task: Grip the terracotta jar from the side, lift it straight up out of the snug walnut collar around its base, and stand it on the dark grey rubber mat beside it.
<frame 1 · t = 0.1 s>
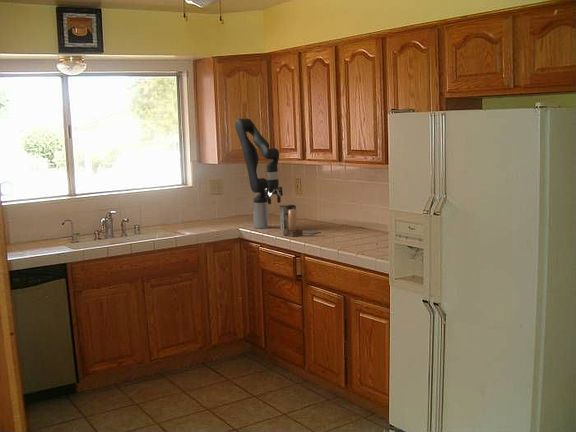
hand: (274, 203, 446), 17 cm above the countertop, tool pointing down, fingers open, 8 cm apart
mat: (310, 232, 429), on the countertop
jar: (292, 222, 421), in the collar
collar: (293, 235, 423), on the countertop
coffee box: (288, 230, 445), on the countertop
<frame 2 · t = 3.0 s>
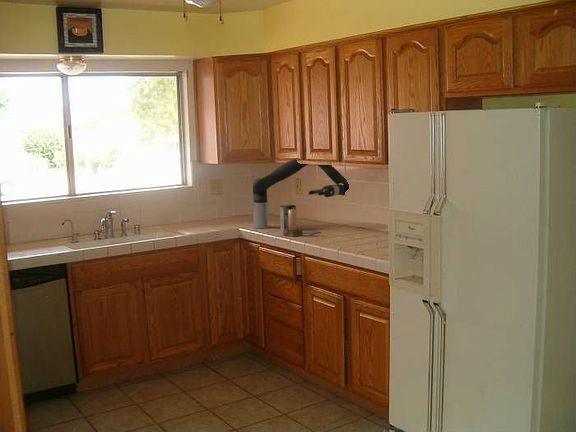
hand: (313, 193, 433), 24 cm above the countertop, tool horizontal, fingers open, 8 cm apart
nothing on the countertop moved.
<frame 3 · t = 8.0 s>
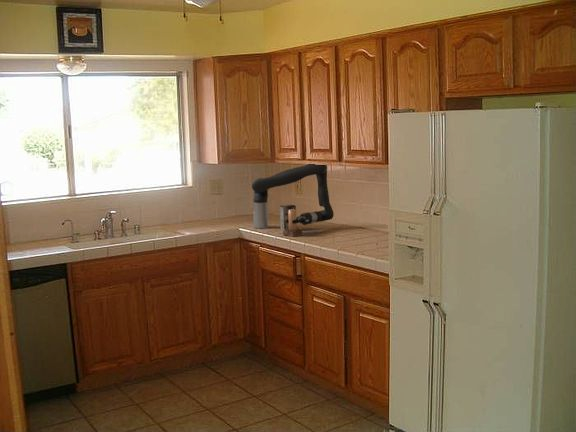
hand: (289, 221, 420), 9 cm above the countertop, tool horizontal, fingers closed on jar, 5 cm apart
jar: (292, 222, 421), in the collar, touching gripper
everything else where it was.
when the fingers open (10 cm above the countertop, at t = 13.5 s): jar stays where it is, resting on mat.
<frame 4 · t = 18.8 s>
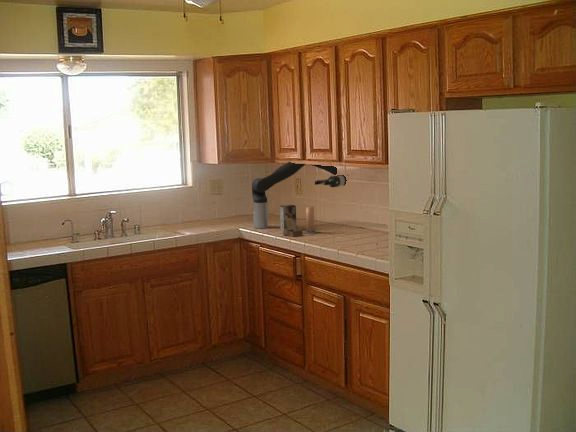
hand: (319, 183, 439), 30 cm above the countertop, tool horizontal, fingers open, 8 cm apart
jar: (310, 219, 428), on the mat
everything else where it was.
at the end: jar 0.1 cm off-centre on the mat, point 8.5 cm above the mat's base; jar tilted 0°; the gripper is holding nothing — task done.
